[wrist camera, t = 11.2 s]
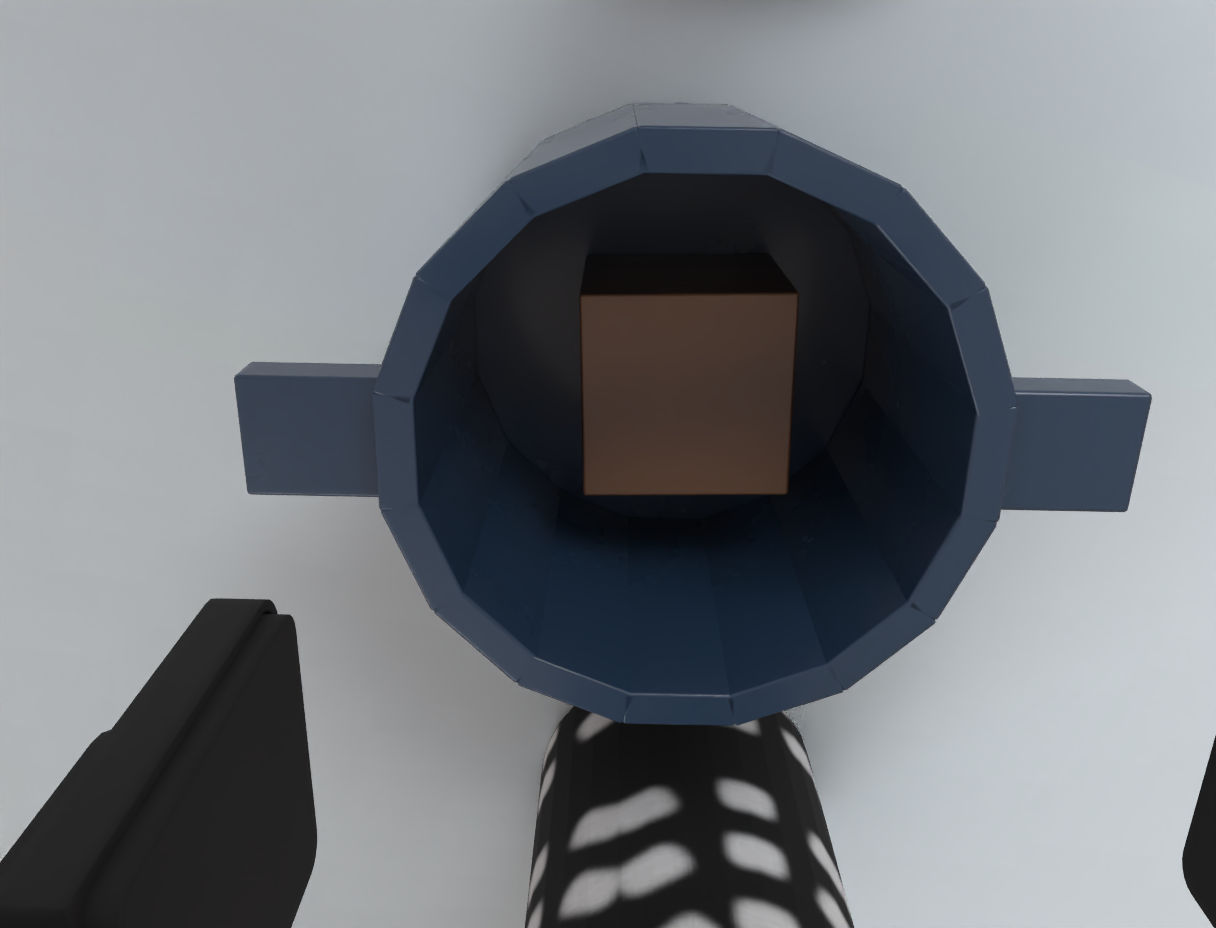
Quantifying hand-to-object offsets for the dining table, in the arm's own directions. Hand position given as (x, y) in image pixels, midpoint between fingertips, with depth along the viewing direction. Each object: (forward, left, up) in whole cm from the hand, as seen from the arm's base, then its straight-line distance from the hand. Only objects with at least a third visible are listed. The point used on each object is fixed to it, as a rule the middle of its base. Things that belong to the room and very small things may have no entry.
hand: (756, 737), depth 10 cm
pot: (+1, 0, -18) cm, 18 cm away
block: (+1, 0, -18) cm, 18 cm away
